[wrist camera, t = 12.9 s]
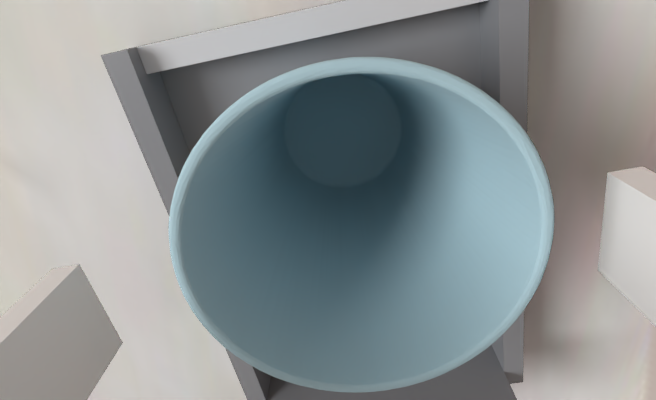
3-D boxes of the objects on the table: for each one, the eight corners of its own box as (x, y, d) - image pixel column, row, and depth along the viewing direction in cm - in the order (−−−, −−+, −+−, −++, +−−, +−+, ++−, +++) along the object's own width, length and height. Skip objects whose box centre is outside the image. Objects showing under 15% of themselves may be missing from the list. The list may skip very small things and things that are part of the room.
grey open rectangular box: (501, 339, 24) (560, 457, 18) (262, 373, 26) (240, 492, 20) (496, -34, 16) (604, -57, 10) (136, 46, 17) (24, 73, 11)
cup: (251, 202, 19) (178, 386, 10) (253, 24, 16) (148, 34, 6) (411, 214, 19) (495, 404, 10) (444, 43, 16) (614, 79, 7)
